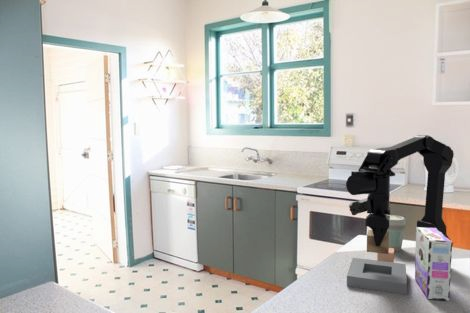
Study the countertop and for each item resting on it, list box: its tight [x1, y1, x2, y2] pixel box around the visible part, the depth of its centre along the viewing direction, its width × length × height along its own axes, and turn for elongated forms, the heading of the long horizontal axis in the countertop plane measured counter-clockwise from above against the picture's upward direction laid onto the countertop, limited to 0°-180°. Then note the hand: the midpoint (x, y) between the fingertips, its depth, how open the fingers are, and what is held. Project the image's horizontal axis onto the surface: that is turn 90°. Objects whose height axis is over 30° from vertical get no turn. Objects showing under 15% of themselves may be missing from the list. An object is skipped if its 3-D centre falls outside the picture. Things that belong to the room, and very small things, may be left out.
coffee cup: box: [386, 214, 407, 252], centre depth 144 cm, size 8×8×12 cm
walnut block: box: [366, 229, 389, 254], centre depth 116 cm, size 6×6×5 cm
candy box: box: [414, 226, 453, 302], centre depth 109 cm, size 14×6×16 cm, turn 168°
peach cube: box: [376, 248, 395, 263], centre depth 129 cm, size 5×5×5 cm
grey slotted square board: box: [346, 257, 408, 295], centre depth 117 cm, size 16×16×3 cm
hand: (378, 242), depth 116 cm, fingers closed on walnut block, 6 cm apart
